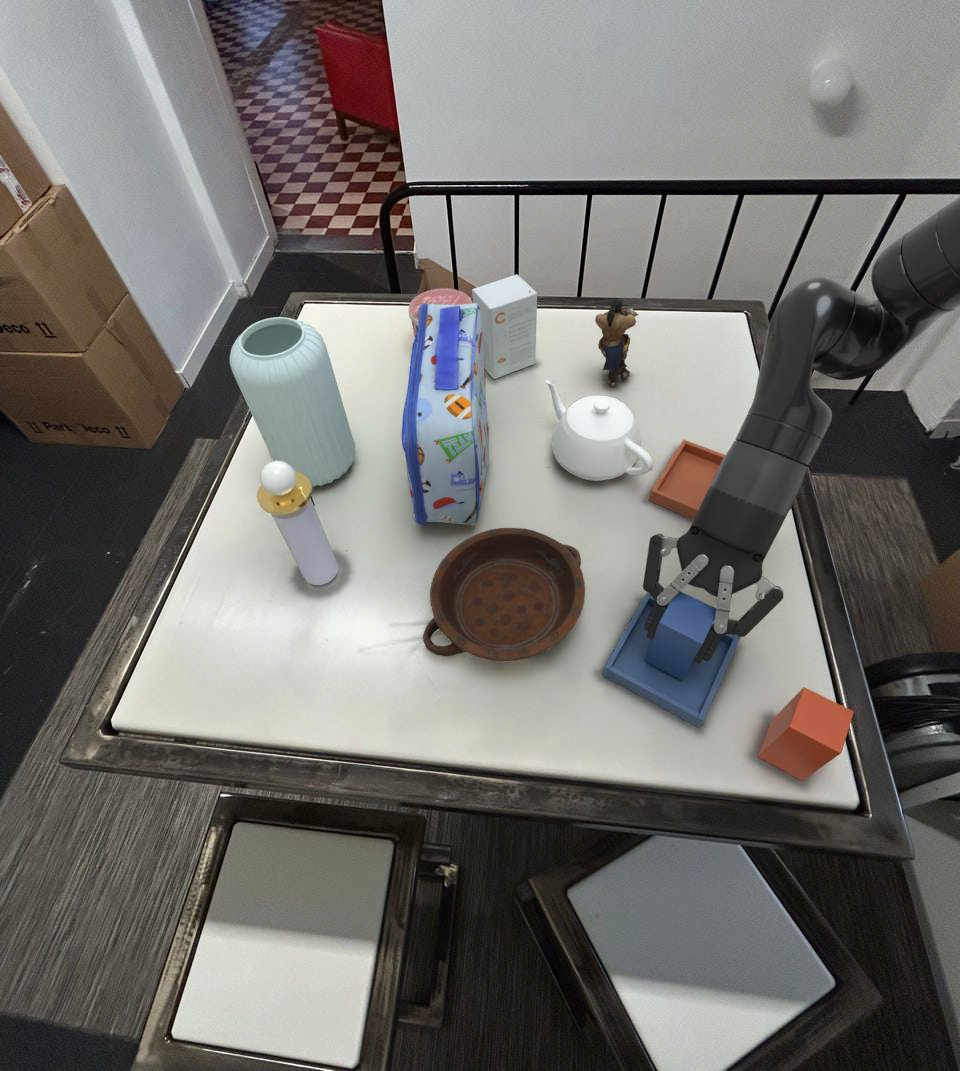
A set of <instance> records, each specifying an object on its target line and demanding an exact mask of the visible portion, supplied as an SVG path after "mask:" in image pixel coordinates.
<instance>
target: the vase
mask: <svg viewBox="0 0 960 1071" xmlns="http://www.w3.org/2000/svg"><path fill="white" fill-rule="evenodd" d="M229 365H230V369H231V373H232V374H233V377H234V379H235V381H236V383H237V385H238V387H239V389H240V392H241V394H242V396H243V398H244V401H245V403H246V405H247V407H248V409H249V412H250V414H251V416H252V418H253V420H254V422H255V425H256V426H257V429H258V431H259V433H260V435H261V437H262V440H263V442H264V444H265V447H266V449H267V451H268V453H269V455H270V457H271V460H272V461H283V462H286V463H287V464H289V465H290V466H291V467H292V468H293V469H294V471H296V472H300V473H302V474H304V475H305V476H306V477H308V479H309V480H310V483H311V485H312V488H314V487H316V486H320V487H322V486H324V485H326V484H331V483H333V481H335V480H338V479H340V478H341V477H342V475H344V474H346V473H347V472H348V470H349V468H350V467H351V466H352V464H353V463H354V459H355V457H356V444H355V440H354V437H353V434H352V429H351V426H350V423H349V420H348V416H347V412H346V410H345V405H344V402H343V400H342V399H343V398H342V396H341V392H340V388H339V385H338V382H337V378H336V375H335V372H334V368H333V365H332V362H331V358H330V355H329V352H328V347H327V344H326V342H325V340H324V338H323V336H322V335H321V333H320V332H319V331H318V330H316V328H314V327H313V326H312V325H310V324H309V323H306V322H304V321H302V320H299V319H294V318H291V317H285V316H284V317H283V316H276V317H275V316H273V317H269V318H268V317H267V318H265V319H261V320H258V321H257V322H255V323H252V324H251V325H249V326H248V327H247V328H246V329H244V330H243V332H242V333H241V334H239V335H238V336H237V338H236V339H235V341H234V343H233V344H232V346H231V349H230V355H229Z"/></svg>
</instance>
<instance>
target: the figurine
mask: <svg viewBox="0 0 960 1071" xmlns="http://www.w3.org/2000/svg"><path fill="white" fill-rule="evenodd" d="M610 305H611V306H610V309H609V310H608V311H606V312H603V313H598V314H597V315H596V316H595V320H594V321H595V324H596V326H598V328H599V329H600V330H601V334H602V337H601V338H600V339H599V341H598V344H597V346H598V349H599V350H600V352H601V354H602V356H603V357H604V358H605V362H604V364H603V368H602V371H608V374H607V380H608V386H609V387H611V388H615V387H617V385H618V384H617V380H618V377H620V379H626V378H629V377H630V371H629V370H628V369H627V368H628V366H627V364H626V360H627V357H628V352H629V346H630V344H631V337H630V334H628V333H626V331H627V330H629V329H630V328H633V327H635V325H636V323H637V320H636V317H638V316H639V313H638V312H637V311H635V309H634V308H633V307H632V308H629V307H627V308H624V307H623V306H624V301H623V299H617V298H616V299H613V301H612V303H611V304H610Z"/></svg>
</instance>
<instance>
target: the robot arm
mask: <svg viewBox="0 0 960 1071" xmlns="http://www.w3.org/2000/svg"><path fill="white" fill-rule="evenodd" d="M870 274H871V277H870V280H871V285H872V289H873V292H874V294H875V296H876V298H877V299H875V300H872V299H870V298H867V297H865V296H864V295H862V294H860V293H858V292H856V291H854V290H852V289H851V288H848V287H847V286H845V285H843V284H841V283H839V282H837V281H835V280H833V279H830V278H826V277H819V276H818V277H811V278H809V279H805V280H804V281H802V282H800V283H798V284H797V285H795V286H794V287H793V288H792V289H791V290H789V291H788V293H786V294H785V296H784V297H783V298H782V299H781V300H780V302H779V303H778V305H777V306H776V308H775V310H774V312H773V314H772V316H771V318H770V321H769V324H768V326H767V331H766V334H765V340H764V345H763V351H762V357H761V362H760V367H759V372H758V377H757V382H756V387H755V392H754V396H753V399H752V403H751V405H750V408H749V409H748V411H747V414H746V416H745V418H744V421H743V423H742V424H741V426H740V429H739V431H738V432H737V434H736V437H735V440H734V441H733V442H732V444H731V446H730V447H729V449H728V450H727V452H726V454H724V455H725V457H724V458H723V460H722V462H721V464H720V466H719V468H718V470H717V472H716V474H715V475H714V478H713V480H712V482H711V485H710V487H709V489H708V491H707V493H706V495H705V497H704V499H703V501H702V503H701V505H700V507H699V510H698V512H697V514H696V516H695V518H694V520H693V519H692V522H691V524H690V526H689V528H688V530H687V531H686V532H685V533H684V534H682V535H681V536H680V537H671V536H665V535H664V534H662V533H656V534H653V535H651V536H650V538H649V542H648V549H647V556H646V561H645V562H646V563H645V568H644V576H643V583H642V588H643V590H644V592H646V593H649V594H650V595H651V596H652V597H653V598H654V606H653V608H652V610H651V612H650V614H649V616H648V618H647V620H646V622H645V624H644V630H646V631H648V634H647V636H646V637H648V638H650V639H652V640H653V638H654V635H655V632H656V629H657V627H658V624H659V622H660V620H661V618H662V616H663V614H664V613H665V611H666V609H667V607H668V604H669V603H670V601H671V600H672V599H673V598H674V597H675V596H676V595H677V594H678V593H679V592H680V591H681V592H682V590H684V588H685V587H686V586H687V585H689V586H691V587H694V588H697V589H703V590H704V591H705V592H707V593H708V594H709V595H711V596H713V597H715V598H716V604H715V608H716V614H715V620H714V622H713V626H711V628H710V630H709V632H708V634H707V636H706V638H705V640H704V643H703V645H702V646H701V648H700V650H699V652H698V654H697V655H696V657H695V658H694V660H693V661H694V662H696V663H698V664H700V663H701V661H702V659H703V660H705V661H708V660H710V659H711V658H712V656H713V654H714V652H715V650H716V648H717V646H718V644H719V642H720V640H721V638H722V637H723V636H724V635H726V634H732V635H736V636H738V637H740V638H745V637H746V636H747V635H748V634H749V633H750V632H752V630H753V629H755V628H756V626H757V625H758V624H760V623H761V621H762V620H763V619H765V618H766V617H767V616H768V615H769V613H771V612H772V610H774V609H775V608H776V606H778V605H779V604H780V603H781V601H783V600H784V597H785V596H784V590H783V588H782V587H780V586H779V585H775V584H773V583H772V582H771V581H770V580H769V579H768V578H766V577H765V576H764V575H763V564H764V561H765V558H766V557H767V555H768V553H769V551H770V549H771V547H772V545H773V544H774V541H775V539H776V538H777V536H778V534H779V532H780V531H781V528H782V526H783V524H784V522H785V520H786V518H787V517H788V514H789V512H790V511H791V510H792V508H793V506H794V504H795V500H796V499H797V497H798V495H799V492H800V491H801V488H802V485H803V482H804V479H805V476H806V474H807V471H808V469H809V467H810V466H811V464H812V462H813V460H814V458H815V456H816V454H817V453H818V450H819V448H820V446H821V445H822V442H823V440H824V439H825V436H826V434H827V432H828V429H829V428H830V425H831V423H832V420H833V412H832V410H831V407H829V405H828V404H827V403H826V402H824V400H823V399H822V398H820V397H819V395H817V394H816V393H815V391H814V389H813V387H812V379H813V371H815V372H817V373H820V374H822V375H824V376H826V377H828V378H831V379H834V380H838V381H853V380H857V379H861V378H864V377H867V376H870V375H872V374H874V373H876V372H877V371H879V370H881V369H882V368H884V367H885V366H886V365H887V364H888V363H890V362H891V361H892V360H893V359H894V358H896V356H898V355H899V354H900V353H901V352H902V351H904V349H906V348H907V347H908V346H909V345H910V344H912V343H913V342H914V341H915V340H917V338H919V337H920V336H921V335H922V334H923V333H924V332H926V331H927V330H928V329H929V328H930V327H931V326H932V325H933V324H935V323H936V322H937V321H938V320H939V319H941V318H942V317H944V316H945V315H947V314H949V313H951V312H953V311H956V310H957V309H959V308H960V196H959V197H957V198H956V199H954V200H952V201H951V202H949V203H948V204H947V205H945V206H944V207H942V208H941V209H939V210H938V211H937V212H935V213H934V214H933V215H930V216H929V217H928V218H927V219H925V220H923V221H922V222H921V223H919V224H917V225H916V226H915V227H913V228H911V230H909V231H907V232H906V233H904V234H903V235H902V236H900V237H899V238H897V239H896V240H894V241H893V242H892V243H891V244H890V245H888V246H887V247H886V248H884V250H882V252H881V253H880V254H878V257H877V258H876V259H875V261H874V263H873V265H872V268H871V273H870ZM673 549H676V551H677V557H678V559H679V565H680V569H681V572H680V573H679V574H678V575H677V576H676V577H675V578H674V579H673V580H672V581H671V582H670V583H669V584H668V585H667V586H666V587H664V586H663V585H662V584H661V583H660V576H661V569H662V565H663V564H662V563H663V558H666V557H668V556H669V555H670V554H671V551H672V550H673ZM755 584H756V586H757V590H756V591H755V593H754V594H755V596H754V597H755V600H756V602H755V603H754V604H753V605H752V606H751V607H750V608H749V609H748V610H747V611H746V612H745V613H744V614H743V615H742V616H741V617H740V618H739V619H731V618H730V612H731V606H732V599H733V595H734V594H736V593H739V592H740V591H742V590H745V589H746V588H749V587H751V586H752V585H755Z"/></svg>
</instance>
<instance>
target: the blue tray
mask: <svg viewBox="0 0 960 1071" xmlns="http://www.w3.org/2000/svg"><path fill="white" fill-rule="evenodd" d="M668 605H669V604H668ZM653 606H654V598H653V597H652V596H651V595H650V594H649V593H648V592H646V593H645V595H644V596H643V598H642V600H641V602H640V603H639V605H638V607H637V609H636V611H635V612H634V614H633V615H632V618H631V620H630V621H629V623H628V625H627V627H626V628H625V630H624V632H623V633H622V635H621V637H620V639H619V640H618V642H617V643H616V646H615V647H614V649H613V651H612V653H611V655H610V657H609V658H608V660H607V662H606V663H605V665H604V668H603V670H602V676H604V677H606V678H607V679H609V680H611V681H612V682H614V683H616V684H618V685H620V686H621V687H624V688H625V689H626V690H627V689H628V690H629V691H631V692H633V693H634V694H637V695H638V696H640V697H642V698H643V699H645V700H647V701H649V702H651V703H653V704H654V705H656V706H658V707H660V708H662V709H664V710H666V711H667V712H669V713H671V714H673V715H674V716H676V717H678V718H680V719H681V720H683V721H686V722H687V723H689V724H691V725H693V726H695V727H696V728H699V727H700V726H701V725H702V723H703V722H704V720H705V718H706V715H707V714H708V711H709V709H710V707H711V705H712V702H713V701H714V698H715V695H716V693H717V691H718V689H719V686H720V685H721V683H722V680H723V677H724V675H725V673H726V672H727V669H728V666H729V664H730V662H731V660H732V657H733V655H734V652H735V650H736V648H737V647H738V644H739V641H740V639H741V637H738V636H737V635H732V634H726V635H724V636H723V637H722V638H721V640H720V642H719V644H718V646H717V648H716V650H715V652H714V654H713V656H712V658H711V659H710V660H708V661H705V660H703V659H702V661H701V663H700V664H698V663H696V662H694V661H693V663H692V664H691V666H690V668H689V670H688V671H687V673H686V675H685V677H684V679H683V680H680V679H678V678H676V677H674V676H672V675H670V674H668V673H667V672H665V671H663V670H661V669H659V668H657V667H655V666H653V665H651V664H649V663H648V662H646V661H644V659H645V657H646V654H647V652H648V649H649V647H650V644H651V642H652V639H650V638H648V637H646V636H647V634H648V631H646V630H644V624H645V622H646V620H647V618H648V616H649V614H650V612H651V610H652V608H653ZM713 624H714V623H713ZM713 624H712V626H713Z"/></svg>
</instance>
